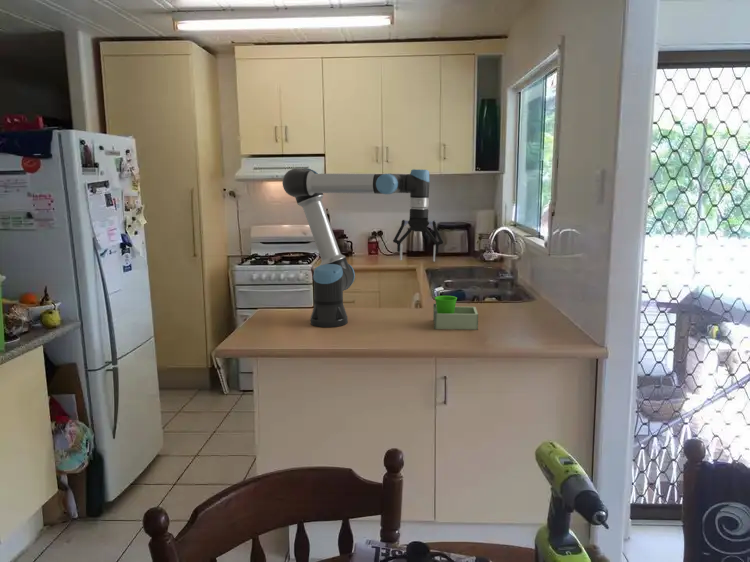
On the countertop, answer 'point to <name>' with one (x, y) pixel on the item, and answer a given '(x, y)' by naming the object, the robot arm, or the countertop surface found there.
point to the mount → (456, 319)
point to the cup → (445, 304)
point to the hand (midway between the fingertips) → (417, 260)
